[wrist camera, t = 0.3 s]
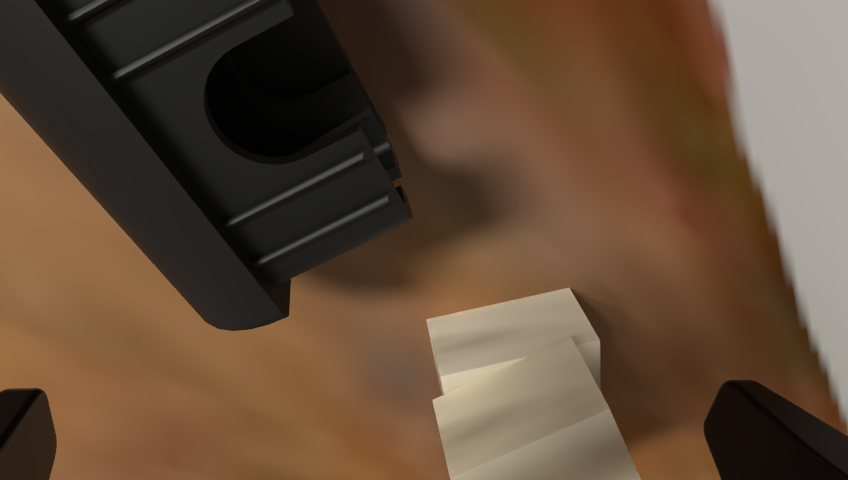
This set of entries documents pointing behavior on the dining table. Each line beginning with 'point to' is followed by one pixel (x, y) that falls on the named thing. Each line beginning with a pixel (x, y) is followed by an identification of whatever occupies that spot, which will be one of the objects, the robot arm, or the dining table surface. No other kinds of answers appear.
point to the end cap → (209, 137)
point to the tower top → (533, 423)
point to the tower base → (509, 336)
